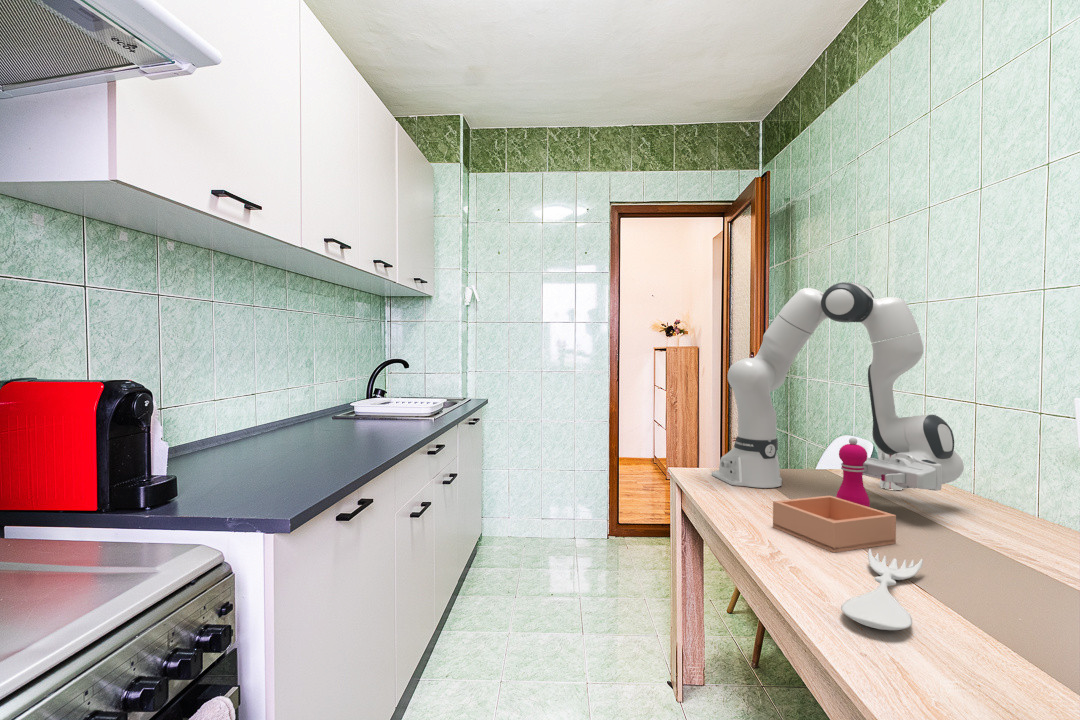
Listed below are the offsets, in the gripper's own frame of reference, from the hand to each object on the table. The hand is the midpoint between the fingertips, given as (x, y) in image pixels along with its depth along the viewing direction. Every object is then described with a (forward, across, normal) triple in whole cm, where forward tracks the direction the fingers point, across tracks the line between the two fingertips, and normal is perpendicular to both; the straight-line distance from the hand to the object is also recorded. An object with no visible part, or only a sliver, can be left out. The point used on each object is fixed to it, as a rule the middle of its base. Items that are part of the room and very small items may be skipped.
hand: (866, 473), depth 133 cm
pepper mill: (+4, 0, +11) cm, 12 cm away
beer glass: (-34, -20, +11) cm, 41 cm away
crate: (+18, +7, +11) cm, 23 cm away
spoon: (+36, +34, +11) cm, 51 cm away
